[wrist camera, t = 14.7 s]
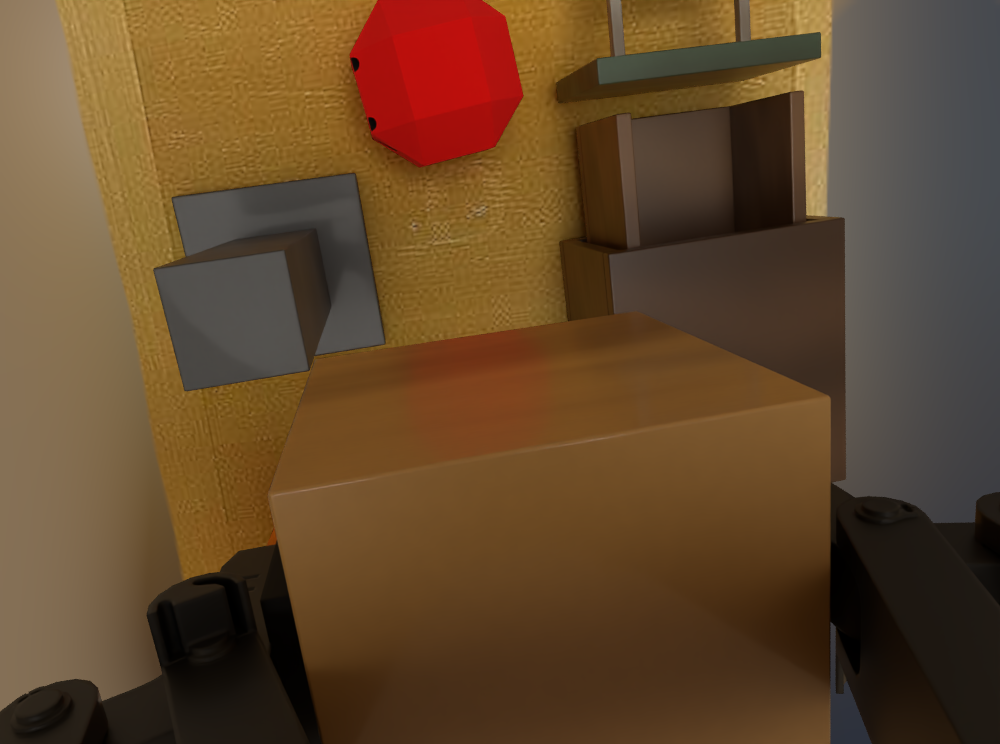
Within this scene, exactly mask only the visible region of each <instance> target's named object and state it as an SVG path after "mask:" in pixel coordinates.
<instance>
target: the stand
mask: <svg viewBox="0 0 1000 744" xmlns="http://www.w3.org/2000/svg"><path fill="white" fill-rule="evenodd" d="M172 203H173V207H174V211H175V215H176V219H177V223H178V227H179V231H180V235H181V239H182V243H183V248H184V252H185V256H186V257H184V258H182V259H179V260H176V261H173V262H171V263H168V264H165V265H162V266H159V267H157V268H154V270H153V271H154V274H155V278H156V282H157V286H158V290H159V294H160V298H161V302H162V305H163V309H164V313H165V317H166V321H167V325H168V329H169V332H170V336H171V340H172V344H173V348H174V352H175V356H176V360H177V363H178V367H179V371H180V375H181V379H182V383H183V387H184V390H185V391H192V390H197V389H203V388H209V387H215V386H221V385H227V384H233V383H239V382H245V381H251V380H257V379H263V378H269V377H275V376H281V375H287V374H293V373H299V372H305V371H309V370H310V368H311V365H312V362H313V359H314V356H318V355H324V354H330V353H336V352H342V351H348V350H354V349H360V348H366V347H372V346H378V345H384V344H385V343H386V342H385V335H384V329H383V324H382V318H381V312H380V307H379V301H378V296H377V290H376V284H375V279H374V273H373V268H372V262H371V256H370V251H369V245H368V239H367V234H366V228H365V223H364V217H363V211H362V206H361V200H360V195H359V189H358V183H357V178H356V174H355V173H349V174H342V175H334V176H327V177H319V178H312V179H304V180H297V181H289V182H282V183H274V184H267V185H259V186H252V187H244V188H237V189H229V190H222V191H214V192H206V193H199V194H191V195H184V196H176V197H172Z"/></svg>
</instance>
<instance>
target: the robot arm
mask: <svg viewBox="0 0 1000 744" xmlns="http://www.w3.org/2000/svg"><path fill="white" fill-rule="evenodd" d="M147 619H148V622H149V626H150V629H151V633H152V636H153V640H154V644H155V648H156V651H157V655H158V658H159V662H160V666H161V670H162V675H161V676H159V677H158V678H156V679H154V680H152V681H151V682H148V683H146V684H144V685H142V686H140V687H137V688H135V689H132V690H130V691H127V692H125V693H122V694H120V695H117V696H115V697H112V698H109V699H107V700H104V701H102V700H101V696H100V693H99V690H98V687H96V686H95V685H94V684H93V683H92V682H91V681H87V680H79V679H74V680H67V681H60V682H55V683H53V684H50V685H47V686H43V687H39V688H36V689H34V690H32V691H30V692H29V693H28V694H24V695H22V696H21V697H19V698H17V699H16V700H15V701H14V702H12V703H11V704H10V705H8V706H7V707H6V708H4V709H3V710H2V711H1V712H0V744H321V741H320V736H319V731H318V727H317V722H316V717H315V713H314V708H313V704H312V699H311V694H310V690H309V685H308V680H307V676H306V671H305V667H304V662H303V657H302V653H301V648H300V643H299V639H298V634H297V630H296V625H295V620H294V616H293V611H292V606H291V602H290V597H289V593H288V588H287V583H286V579H285V574H284V569H283V565H282V560H281V556H280V551H279V546H278V542H277V541H276V544H275V545H269V546H264V547H258V548H253V549H247V550H242V551H238V552H237V553H236V554H235V555H234V556H233V557H232V558H231V559H230V560H229V561H228V562H227V563H226V564H225V565H223V566H222V568H221V571H220V572H217V573H208V574H204V575H200V576H196V577H192V578H189V579H187V580H185V581H182V582H180V583H178V584H176V585H173V586H172V587H170V588H169V589H167V590H165V591H164V592H162V593H161V594H159V595H158V596H157V597H156V598H155V599H154V600H153V602H152V603H151V604H150V605H149V607H148V611H147ZM830 622H832V623H833V624H834V625H835V626H836V693H837V694H843V693H844V692H843V691H844V689H843V687H844V683H845V682H846V681H848V684H849V687H850V689H851V692H852V694H853V697H854V699H855V702H856V705H857V707H858V709H859V712H860V715H861V717H862V720H863V722H864V725H865V727H866V730H867V732H868V735H869V738H870V740H871V743H872V744H1000V492H996V493H992V494H988V495H984V496H982V497H981V498H979V499H978V500H977V502H976V516H975V522H973V523H933V522H932V521H931V520H930V519H929V517H928V516H927V515H926V514H925V513H924V512H923V511H922V510H920V509H919V508H918V507H916V506H914V505H911V504H910V503H907V502H904V501H901V500H896V499H891V498H886V497H870V496H867V497H858V498H855V497H853V496H852V495H850V494H849V493H847V492H845V491H844V490H842V489H840V488H839V487H837V486H836V485H834V484H832V483H831V543H830Z"/></svg>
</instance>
